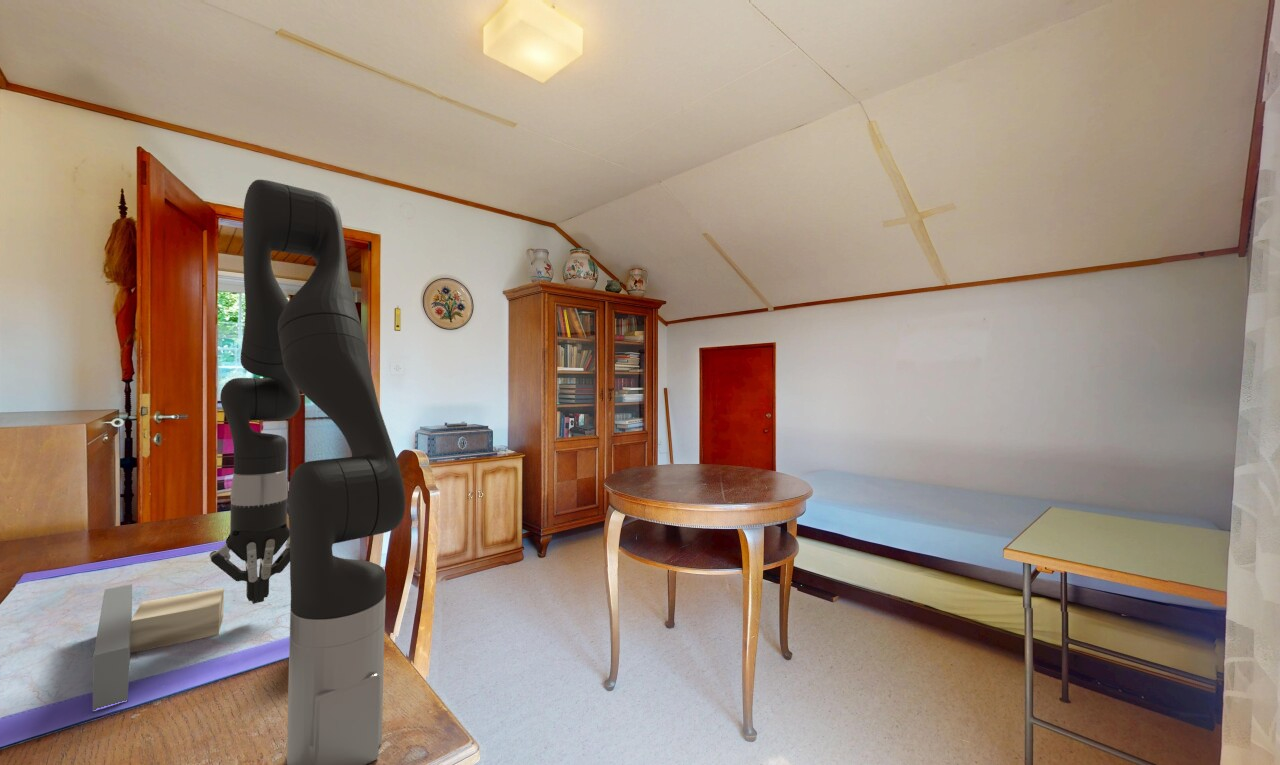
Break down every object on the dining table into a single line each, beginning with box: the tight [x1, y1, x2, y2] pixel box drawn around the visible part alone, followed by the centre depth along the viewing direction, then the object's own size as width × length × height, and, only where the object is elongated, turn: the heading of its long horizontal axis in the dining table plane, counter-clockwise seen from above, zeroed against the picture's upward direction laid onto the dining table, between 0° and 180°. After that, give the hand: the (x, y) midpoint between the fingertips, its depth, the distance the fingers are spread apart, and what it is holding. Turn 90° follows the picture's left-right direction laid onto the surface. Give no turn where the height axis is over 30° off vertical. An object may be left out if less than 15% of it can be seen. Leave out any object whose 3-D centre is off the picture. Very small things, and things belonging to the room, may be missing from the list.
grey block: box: [92, 583, 133, 711], centre depth 71 cm, size 24×3×7 cm, turn 45°
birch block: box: [130, 587, 225, 654], centre depth 79 cm, size 7×10×5 cm
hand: (257, 601), depth 84 cm, fingers closed
